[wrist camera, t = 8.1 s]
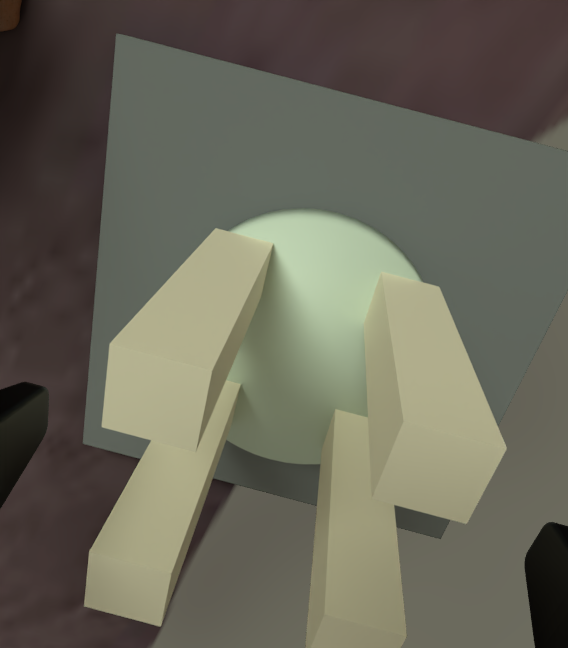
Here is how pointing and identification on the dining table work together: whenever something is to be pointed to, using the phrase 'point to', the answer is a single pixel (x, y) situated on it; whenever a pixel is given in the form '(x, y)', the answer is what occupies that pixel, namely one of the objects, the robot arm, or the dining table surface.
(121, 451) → the mat
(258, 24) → the dining table surface
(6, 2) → the brown curved piece
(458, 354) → the stool
